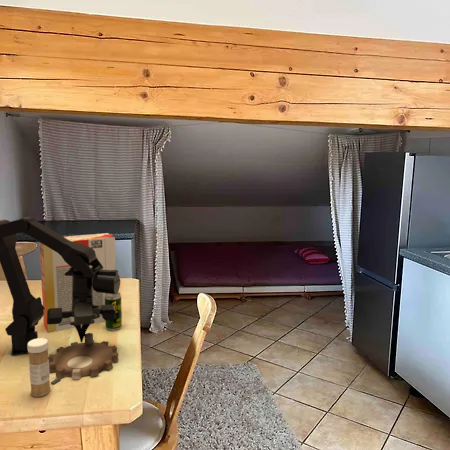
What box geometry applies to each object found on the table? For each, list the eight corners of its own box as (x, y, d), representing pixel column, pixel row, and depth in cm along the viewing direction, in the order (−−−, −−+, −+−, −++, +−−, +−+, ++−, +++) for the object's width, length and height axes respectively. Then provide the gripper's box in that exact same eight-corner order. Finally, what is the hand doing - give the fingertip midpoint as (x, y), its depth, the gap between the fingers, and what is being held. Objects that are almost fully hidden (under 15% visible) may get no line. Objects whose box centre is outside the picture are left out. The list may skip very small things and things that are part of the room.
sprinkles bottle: (45, 385, 105) (43, 335, 103) (53, 392, 102) (51, 341, 100) (27, 392, 102) (24, 341, 100) (35, 400, 99) (32, 347, 97)
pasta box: (110, 312, 154) (108, 233, 149) (116, 319, 148) (114, 237, 143) (43, 324, 142) (39, 238, 137) (47, 332, 136) (43, 243, 130)
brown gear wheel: (38, 380, 107) (37, 362, 106) (59, 347, 125) (58, 331, 125) (112, 378, 109) (112, 360, 108) (122, 345, 127) (122, 330, 127)
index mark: (57, 379, 108) (57, 377, 108) (60, 380, 108) (60, 378, 108) (50, 384, 106) (50, 382, 106) (54, 384, 106) (53, 383, 105)
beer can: (102, 328, 140) (101, 294, 137) (113, 323, 144) (112, 290, 142) (113, 332, 137) (113, 297, 135) (125, 326, 142) (124, 293, 140)
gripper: (46, 302, 109) (46, 357, 111) (119, 298, 116) (117, 350, 118) (47, 289, 119) (47, 340, 121) (114, 286, 126) (112, 334, 128)
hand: (81, 341), depth 122 cm, fingers closed
